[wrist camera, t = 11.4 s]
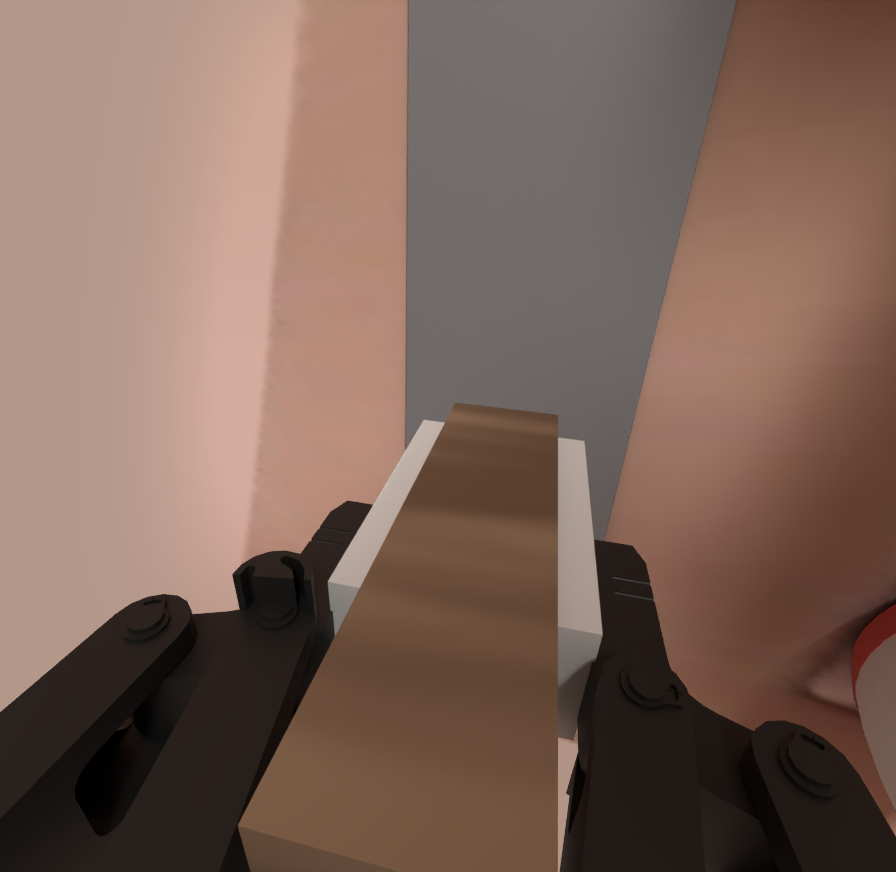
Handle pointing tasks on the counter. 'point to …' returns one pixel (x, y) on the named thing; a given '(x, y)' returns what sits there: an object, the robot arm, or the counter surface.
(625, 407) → the grey board
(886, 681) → the citrus juicer
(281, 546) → the counter surface
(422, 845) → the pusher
